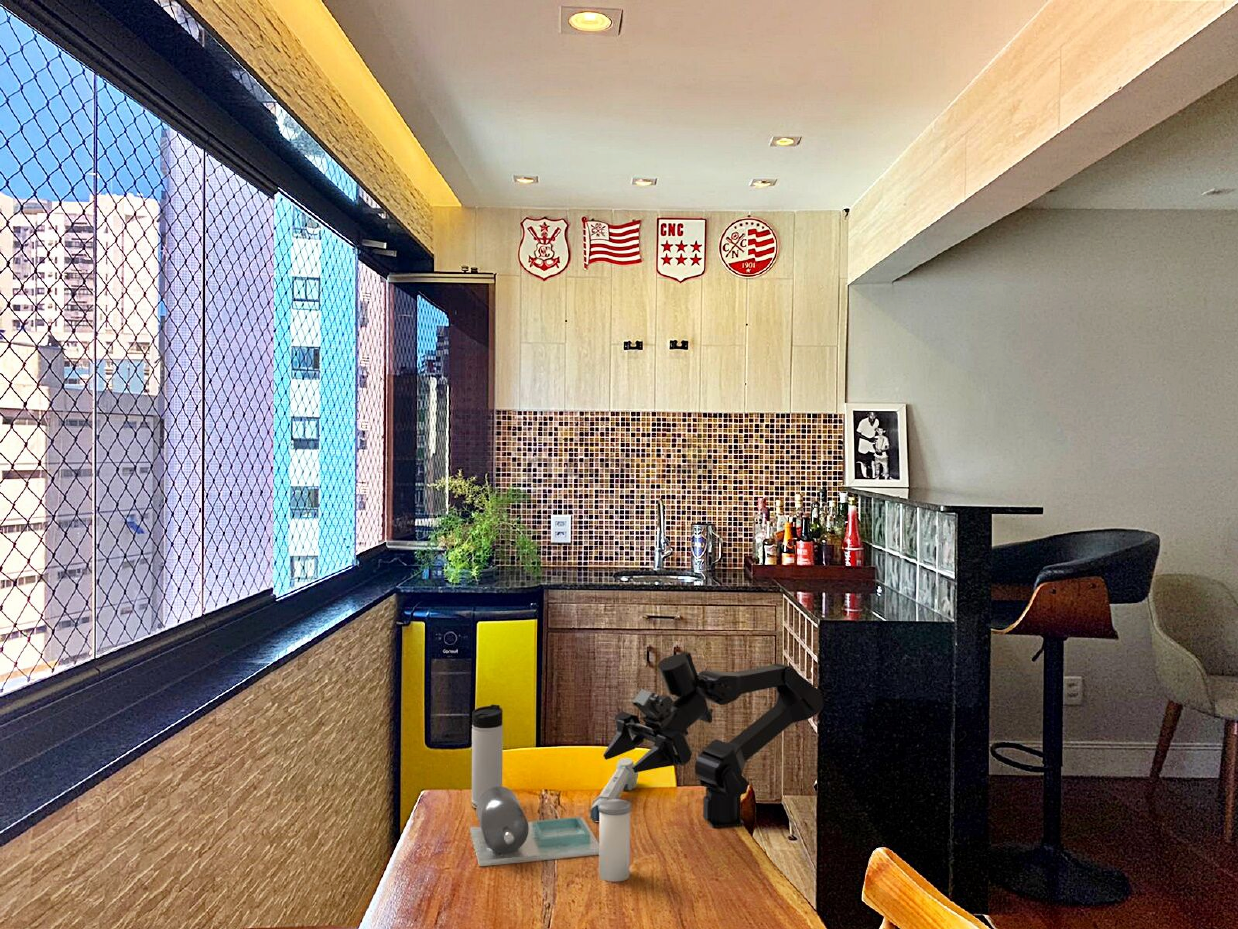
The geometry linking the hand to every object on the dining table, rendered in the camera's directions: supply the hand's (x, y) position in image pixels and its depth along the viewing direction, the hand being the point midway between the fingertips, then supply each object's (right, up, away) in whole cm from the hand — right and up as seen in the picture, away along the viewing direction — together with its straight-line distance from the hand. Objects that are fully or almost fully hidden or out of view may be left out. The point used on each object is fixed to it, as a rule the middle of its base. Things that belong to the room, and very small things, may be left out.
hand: (618, 763), depth 173 cm
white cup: (-1, -16, -11) cm, 19 cm away
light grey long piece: (-1, -16, +25) cm, 30 cm away
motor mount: (-15, -16, +2) cm, 22 cm away
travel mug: (-27, -16, +23) cm, 39 cm away
